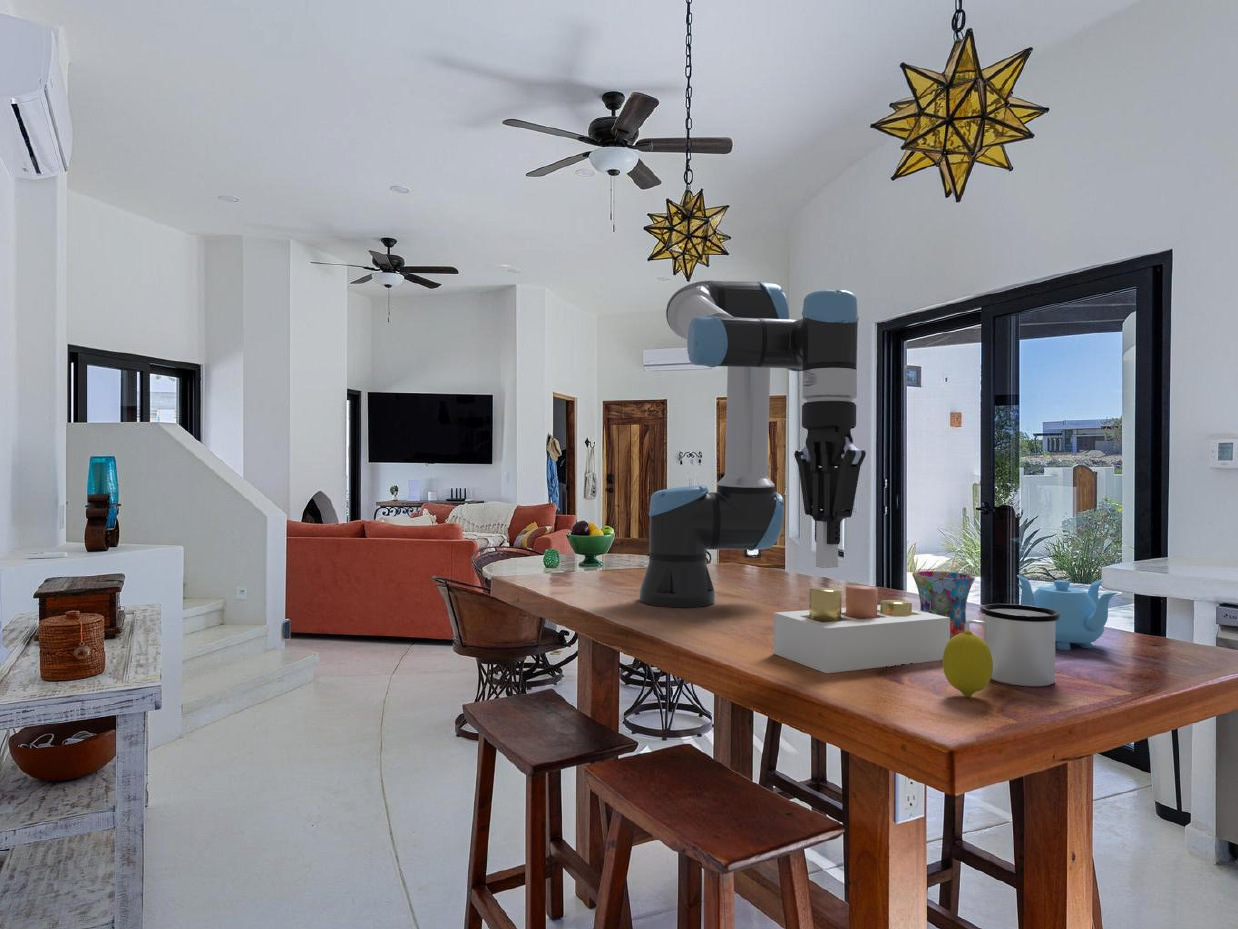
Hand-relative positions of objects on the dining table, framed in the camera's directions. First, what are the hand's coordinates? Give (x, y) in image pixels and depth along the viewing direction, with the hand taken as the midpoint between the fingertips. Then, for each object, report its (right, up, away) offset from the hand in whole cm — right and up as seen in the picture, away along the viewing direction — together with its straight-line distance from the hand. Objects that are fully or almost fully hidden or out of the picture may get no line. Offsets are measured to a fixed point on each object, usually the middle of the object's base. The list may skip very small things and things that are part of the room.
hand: (827, 566), depth 113 cm
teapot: (+41, -14, +13) cm, 45 cm away
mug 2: (+22, -14, -8) cm, 27 cm away
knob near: (0, -8, 0) cm, 8 cm away
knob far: (+12, -11, +5) cm, 17 cm away
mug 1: (+23, -14, +15) cm, 31 cm away
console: (+6, -13, +3) cm, 15 cm away
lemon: (+12, -14, -17) cm, 25 cm away
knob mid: (+6, -8, +3) cm, 10 cm away
